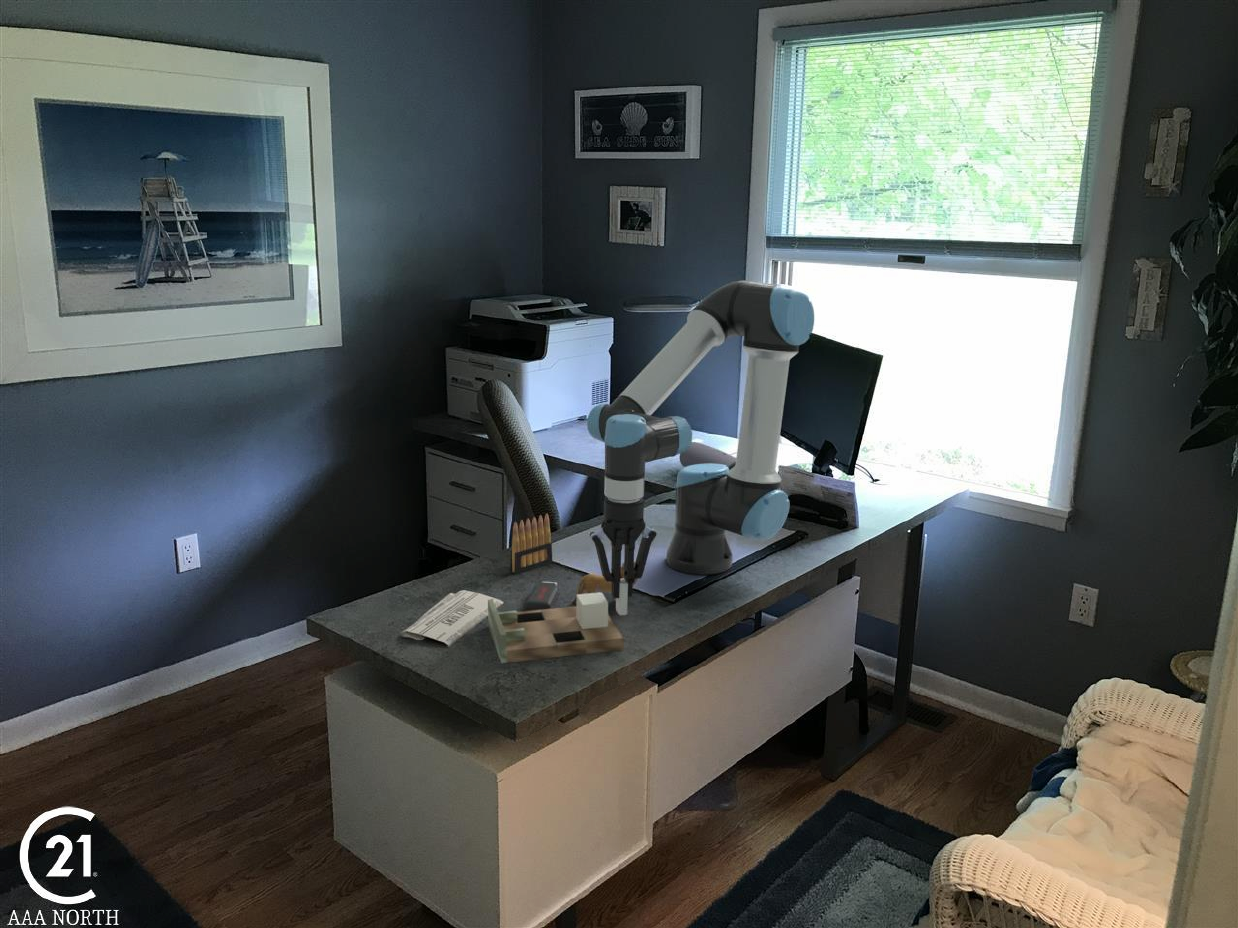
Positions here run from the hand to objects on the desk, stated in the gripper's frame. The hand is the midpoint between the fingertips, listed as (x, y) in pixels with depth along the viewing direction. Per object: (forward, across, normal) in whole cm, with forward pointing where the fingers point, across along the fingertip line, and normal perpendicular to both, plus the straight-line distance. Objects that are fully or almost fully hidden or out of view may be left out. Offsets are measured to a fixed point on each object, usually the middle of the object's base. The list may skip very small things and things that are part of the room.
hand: (621, 612), depth 197 cm
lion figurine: (+4, -1, -14) cm, 14 cm away
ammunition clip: (+4, +11, -36) cm, 38 cm away
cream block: (+2, +6, 0) cm, 6 cm away
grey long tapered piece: (+4, -53, -88) cm, 102 cm away
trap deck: (+4, +13, 0) cm, 14 cm away
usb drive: (+5, +12, -18) cm, 22 cm away
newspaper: (+5, +32, -13) cm, 35 cm away
